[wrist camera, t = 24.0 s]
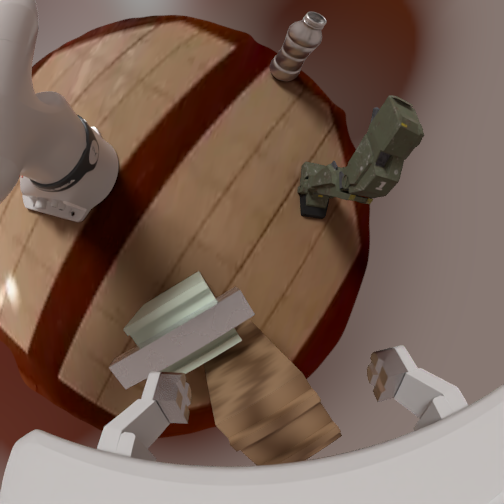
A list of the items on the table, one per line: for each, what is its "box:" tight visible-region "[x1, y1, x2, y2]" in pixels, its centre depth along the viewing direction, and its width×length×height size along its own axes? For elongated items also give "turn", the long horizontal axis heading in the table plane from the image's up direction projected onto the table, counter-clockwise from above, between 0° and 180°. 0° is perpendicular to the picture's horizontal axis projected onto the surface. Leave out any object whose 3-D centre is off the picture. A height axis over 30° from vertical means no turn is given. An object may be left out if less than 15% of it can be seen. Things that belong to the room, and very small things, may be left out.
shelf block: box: [123, 271, 242, 374], centre depth 39 cm, size 12×9×16 cm
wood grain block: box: [204, 319, 342, 466], centre depth 36 cm, size 10×12×27 cm
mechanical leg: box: [298, 96, 424, 219], centre depth 39 cm, size 14×7×30 cm, turn 176°
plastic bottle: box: [270, 12, 326, 81], centre depth 41 cm, size 6×7×20 cm
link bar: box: [109, 286, 255, 389], centre depth 31 cm, size 19×4×3 cm, turn 121°
